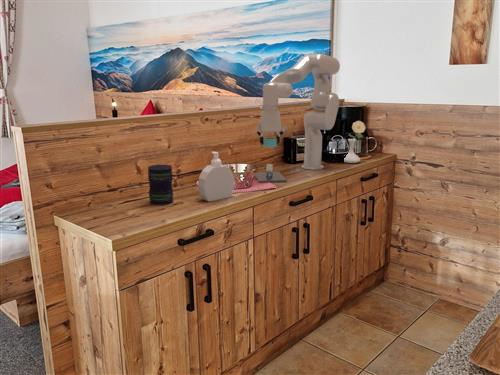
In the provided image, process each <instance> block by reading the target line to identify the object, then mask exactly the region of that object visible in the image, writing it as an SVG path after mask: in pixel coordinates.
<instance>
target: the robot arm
mask: <svg viewBox="0 0 500 375" xmlns="http://www.w3.org/2000/svg"><path fill="white" fill-rule="evenodd" d="M340 67H341V64H340V61H339V60H338V59H337V58H336V57H333V56H331V55H327V54H324V53H320V52H319V53H306V54H304V55H303V56H302V57H301V58H299V59H298V60H297V62H295V64H293V66H292V67H290V68H288V69H287V70H284V71H282V72H280V73H278V74H276V75H275V76H274V77H272V79H271V80H269V82H265V83H264V84H263V87H262V88H263V89H262V105H260V106H259V109H260V110H262V111H261V114H260V118H259V119H260V120H259V124H257V126H255V127H254V128H253V131H254V132H256V134H257V135H258V136H259V144H260V145H261V146H262V145H263V139H264V138H265V137H264V135H265V133H275V134H276V137H275V138H277V146H279V144H280V142H281V136H283V134H284V133H285V132H286V131H287V128H286V127H285V126H284V125H282V124H281V123H282V122H281V113H280V111H279V99H287V98H290V97H291V96H292V95H293V93H294V90H293V89H294V88H293V86H292V85H294V84H297V83H300V82H302V81H303V80H304V79H305V78H306V77H307V76H308V75H309V74H310V73H312V75H313V79H314V87H313V91H312V96H311V100H310V106H311V108H312V109H313V110H314V111H313V110H311V111H308V112H306V113H305V114H304V116H303V126H304V157H303V158H304V160H303V164H301V166H300V168H301V169H304V170H312V171H313V170H314V171H316V170H317V171H319V170H323V169H324V165H323V164H322V152H323V149H322V148H323V134H322V132H321V130H324V131H330V130H332V129H333V127H334V126H335V122H336V119H337V114H338V111H339V107H340V98H339V96H338V94H337V93H335V92H330V88H331V81H330V79H329V77H328V76H330V75H333V76H334V75H336V74H337V73H339V71H340ZM317 110H318V111H317ZM321 110H322V111H321Z"/></svg>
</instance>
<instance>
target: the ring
mask: <svg viewBox="0 0 500 375" xmlns="http://www.w3.org/2000/svg"><path fill="white" fill-rule="evenodd" d="M261 146H262V147H263V148H277V147H278V145H277V138H276V137H272V136H271V137H270V136H269V137H264V139H263V145H261Z"/></svg>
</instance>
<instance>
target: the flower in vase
mask: <svg viewBox="0 0 500 375" xmlns="http://www.w3.org/2000/svg"><path fill="white" fill-rule="evenodd" d="M351 129H352V131H353V132H354V133H356V134H355V136H354V135H352V134H350V133H348V136H349V137H350V138H348V139H347V141H348V144H349V151H348V152H347V153H348V154H347V153H346V154H347V155H346V154H345V155H346V157H345V158H344V163H349V164H357V163H360V162H361V158H360V156H358V155H357V154H356V152H355V151H354V150H355V149H354V147H355V142H357V139H355V138H356V137H357V138H358V139H361V138H364V135H363V134H362V133H364V132H365V130H366V129H367V128H366V124H365V123H364V122H362V121H361V120H356V121H355V122H353V123H352V126H351ZM351 137H352V138H351Z"/></svg>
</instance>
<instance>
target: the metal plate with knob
mask: <svg viewBox="0 0 500 375" xmlns="http://www.w3.org/2000/svg"><path fill="white" fill-rule="evenodd" d="M265 166H266V168H265V169H266V171H260V172H259V171H258V172H256V171H255V172H256V173H255V176H254V178H255V177H256V178H255V180H258V181H257V182H258V184H263V183H262V182H270V184H271V183H273V184H274V183H288V179H287V178H286V177H285V176H284V175H283V174H282V173H281V172H280V171H273V169H274V164H272V163H267V164H266V165H265Z"/></svg>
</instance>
